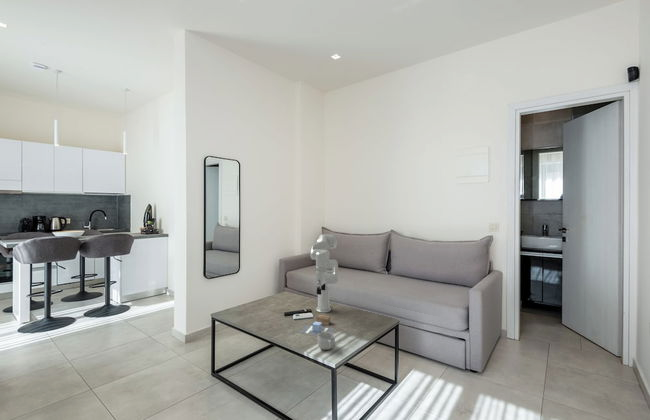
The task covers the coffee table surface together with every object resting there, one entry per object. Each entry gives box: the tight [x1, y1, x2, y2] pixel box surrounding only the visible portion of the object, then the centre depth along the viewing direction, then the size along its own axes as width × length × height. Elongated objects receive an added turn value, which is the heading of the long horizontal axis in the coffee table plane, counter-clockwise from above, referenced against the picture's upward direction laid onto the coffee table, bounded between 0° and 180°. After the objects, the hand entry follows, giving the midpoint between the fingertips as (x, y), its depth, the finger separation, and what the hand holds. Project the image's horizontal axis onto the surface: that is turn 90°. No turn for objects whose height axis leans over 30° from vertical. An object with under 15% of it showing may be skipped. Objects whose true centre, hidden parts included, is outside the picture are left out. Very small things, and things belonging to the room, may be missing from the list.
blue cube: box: [312, 321, 323, 332], centre depth 215 cm, size 5×5×5 cm
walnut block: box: [316, 314, 331, 326], centre depth 229 cm, size 5×9×5 cm, turn 73°
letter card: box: [299, 324, 335, 336], centre depth 216 cm, size 14×21×1 cm, turn 73°
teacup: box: [317, 332, 336, 351], centre depth 189 cm, size 14×11×8 cm
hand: (321, 292), depth 224 cm, fingers open, 9 cm apart
